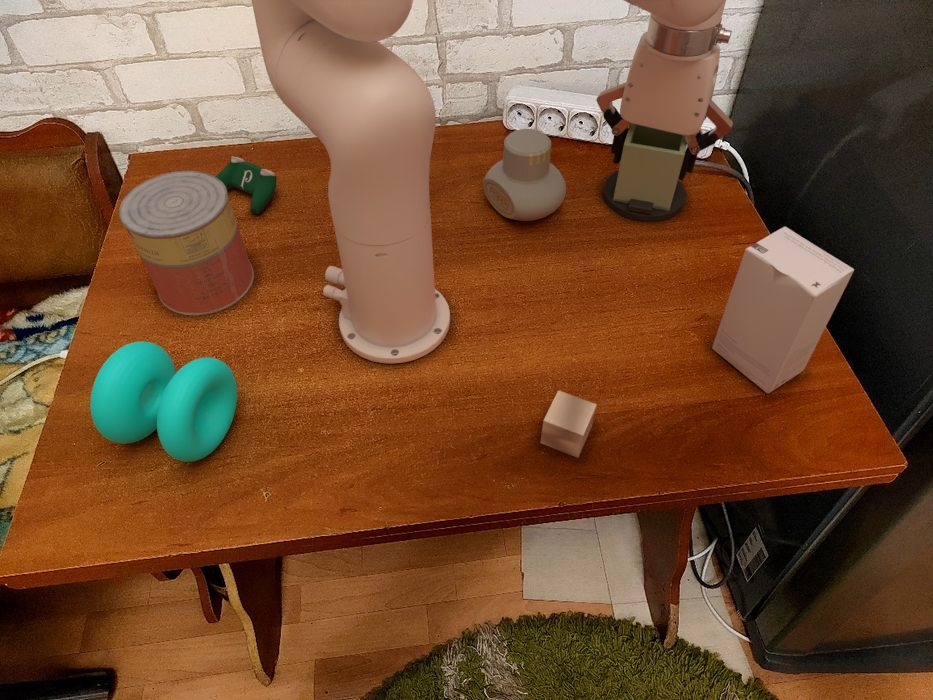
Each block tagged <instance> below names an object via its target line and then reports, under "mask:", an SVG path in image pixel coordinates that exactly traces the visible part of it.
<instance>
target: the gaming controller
mask: <svg viewBox="0 0 933 700" xmlns="http://www.w3.org/2000/svg"><path fill="white" fill-rule="evenodd" d="M230 158H231V159H229V161H228V163H227V164H226V166H224V168H222V170H220V171H219V172H218V173H217V174H216V175H214V176H215V177H216V178H218V179H219V180H221V181H222V182H223V184H224V185H225V187H226V189H227V191H229V190H231V189H232V188H236V189H238V190H241V191H243V192H246V193H247V194H249V195H251V200H250V210H249V211H250V212H251V213H252V214H255V215H259V214H260V213H261V212H262V211H263V210H264V209H265V208H266V207H267V205H268V204H269V203H270V201H271V199H272V198H273V196H274V194H275V192H276V188H277V186H278V185H277V180H278V177H277V175H276V173H274V171H272V170H269V169H267V168H264V167H261V166H260V165H257V164H255V163H252V162H249V161H246V160H245V159H243V158H241V157H239V156H233V155H232V156H231V157H230Z"/></svg>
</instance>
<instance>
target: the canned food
mask: <svg viewBox="0 0 933 700" xmlns="http://www.w3.org/2000/svg"><path fill="white" fill-rule="evenodd" d="M215 176H216V175H212V174H210V173H207V172H203V171H198V170H197V171H196V170H177V171H171V172H167V173H163V174H159V175H157V176H153V177H151V178H149V179H146V180H144V181H143V182H141V183H139V184H138V185H136V186H135V187H134V188H132V190H131V189H130V191H129V192H128V193H127V194H126V195H125V197H124V198H123V199H122V201H121V202H120V205H119V210H118V211H119V212H118V216H119V219H120V222H121V223H122V225H123V226H124V227H125V229H126V231H127V233H128V236H129V237H130V240H131V241H132V243H133V246H134V247H135V250H136V251H137V254H138V256H139V258H140V261H141V263H142V264H143V266H144V268H145V270H146V272H147V274H148V276H149V278H150V280H151V282H152V285H153V286H154V288H155V290H156V292H157V296H158V298H159V300H160V302H161V303H162V305H163V306H164V307H165V308H167V309H168V310H170V311H172V312H173V313H176V314H180V315H184V316H193V317H195V316H206V315H212V314H215V313H218V312H222V311H224V310H226V309H228V308H230V307H232V306H233V305H235V304H237V303H238V302H239V301H240V300H242V299H243V297H245V296H246V294H248V292H249V290H250V289H251V287H252V286H253V283H254V278H255V272H254V269H253V265H252V264H251V261H250V258H249V255H248V252H247V250H246V246H245V242H244V240H243V237H242V234H241V231H240V229H239V226H238V225H239V224H238V223H237V220H236V216H235V213H234V210H233V207H232V205H231V204H232V203H231V201H230V198H229V194H228V193H229V192H228V190H227V189H226V187H225V185H224V184H223V182H222V181H221V180H219V179H218V178H216V177H215Z"/></svg>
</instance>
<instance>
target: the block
mask: <svg viewBox="0 0 933 700" xmlns="http://www.w3.org/2000/svg"><path fill="white" fill-rule="evenodd" d="M597 406H598V404H597V403H595V402H592V401H589V400H587V399H584V398H581V397H578V396H576V395H573V394H571V393H567V392H564V391H561V390H557V392H556V394H555V396H554V398H553V399H552V402H551V404H550V406H549V408H548V410H547V412H546V414H545V416H544V418H543V420H542V426H541V427H542V428H541V433H540V442H539V443H540V444H541V445H544V446H547V447H549V448H551V449H554V450H556V451H559V452H562V453H563V454H567V455H569V456H572V457H573V458H574V457H575V458H577V459H579V457H580V456H581V453H582V451H583V449H584V446H585V443H586V441H587V439H588V437H589V435H590V432H591V430H592V428H593V423H594V419H595V414H596V411H597Z"/></svg>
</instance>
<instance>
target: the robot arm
mask: <svg viewBox="0 0 933 700" xmlns="http://www.w3.org/2000/svg"><path fill="white" fill-rule="evenodd" d="M623 1H624V2H626V3H628V4H630V5H632V6H635V7H637V8H639V9H641V10H643V11H645V12H646V13H647V12H648V13H649V14H650V16H649V21H648V26H647V31H644V32H643V33H642V35H641V37H640V39H639V41H638V43H637V46H636V48H635V51H634V54H633V57H632V60H631V63H630V66H629V70H628V73H627V76H626V77H627V78H626V81H625V82H623V83H621V84H618V85H615V86H613V87H611V88H608V89H606V90H603V91H601V92H599V94H598V96H597V97H596V103H597V105H598V107H599V109H600V111H601V112H602V117H603V119H604V121H605V122H606V124H607V125H608V126H609V127H610V129H611V134H612V135H613V138H612V144H611V149H610V154H613V156H614V157H613V161H612V163H613V164H615V165H618V164H620V162H621V157H622V152H623V147H624V143H625V139H626V136H627V133H628V130H629V126H630V125H631V124H632V123H633V124H637V125H641V126H645V127H649V128H653V129H658V130H662V131H666V132H671V133H675V134H680V135H684V138H685V140H686V143H687V146H686V151H685V156H684V159H683V163H682V166H681V170H680V174H679V177H678V180H679V181H683V182H684V179H685V178H686V175H687V173H690V174H691V173H693V170H694V168H695V165H696V161H697V157H698V155H699V153H700V152H701V151H703V150H705V149H707V148H709V147H711V146H713V145H715V144H716V143H717V141H719V140H720V139H723V137H725V136H726V135H728V134H729V133H730V132H731V131H732V129H733V126H734V122H733V120H732V119H731V118H730V117H729V116H728V115H727V114H726V113H725V112H724V111H723V110H722V109H721V108H720V106H718V105H717V104H716V102H715V101H713V95H714V92H715V88H716V83H717V77H718V73H719V72H718V71H719V68H720V67H719V66H720V65H719V64H720V58H721V46H720V45H721V44H729V42H730V39H731V36H732V32H733V31H732V30H730V29H726V27H723V25H724V24H723V23H722V20H723V18H722V17H723V15H724V10H725V6H726V2H727V0H623ZM251 4H252V9H253V14H254V20H255V25H256V30H257V35H258V39H259V45H260V49H261V53H262V59H263V62H264V67H265V71H266V74H267V76H268V80H269V82H270V84H271V86H272V89H273V91H274V92H275V93H276V95H277V97H278V98H279V99H280V100H281V102H282V103H283V104H284V106H286V108H287V109H289V110H290V111H291V112H292V114H294V116H295V117H296V118H298V119H299V121H300V122H301V123H303V124H304V125H305V126H306V127H307V128H308V130H310V132H311V133H312V134H313V135H314V136H315V137H316V138H318V140H319V141H320V142H321V144H322V145H323V146H324V148H325V151H326V152H327V155H328V157H329V161H330V173H329V178H328V184H327V195H328V205H329V209H330V210H329V211H330V216H331V220H332V224H333V228H334V229H333V230H334V233H335V235H334V236H335V240H336V244H337V250H338V255H339V259H340V264H341V268H340V267H337V266H334V265H329V266H328V267H327V269H326V270H325V273H324V280H325V281H326V282H328V283H331V284H333V285H337V286H340V287H341V286H342V287H344V289H343V290H342V289H339V288H338V287H336V286H333V285H331V284H326V285H325V286H324V287H323V289H322V296H324V297H326V298H328V299H331V300H336V301H338V302H339V304H340V305H341V309H340V312H339V315H338V327H339V332H340V336H341V338H342V340H343V342H344V343H345V345H346V346H347V347H348V349H350V350H351V352H353V353H354V354H356V355H357V356H359V357H360V358H363V359H366V360H368V361H370V362H373V363H374V362H375V363H380V364H403V363H407V362H412V361H415V360H418V359H420V358H422V357H425V356H427V355H429V353H432V352H433V351H434V350H435V349H436V348H437V347H439V346H440V345H441V344H442V342H443V341H444V339H445V338H446V336H447V334H448V332H449V330H450V325H451V311H450V306H449V304H448V301H447V300H446V298H445V297H444V295H443V294H442V293H441V292H440V291H439V290H437V289H436V283H435V282H436V281H435V267H434V265H435V264H434V251H433V231H432V213H431V200H430V199H431V198H430V165H431V156H432V149H433V146H434V145H433V144H434V138H435V134H436V133H435V132H436V126H437V125H436V123H437V117H436V116H437V115H436V107H435V103H434V99H433V96H432V94H431V92H430V90H429V88H428V86H427V85H426V83H425V82H424V80H423V78H422V77H421V76H420V75H419V74H418V72H417V71H416V70H415V69H414V68H413V67H412V66H411V65H410V64H408V62H406V61H405V60H404V59H403V58H402V57H400V56H399V55H398V54H396V53H395V52H394V51H392V50H390V49H389V48H388V47H386V46H385V45H383V44H382V43H381V42H379V41H382V40H383V41H384V40H386V39H389V38H390V37H392V36H393V35H395V34H396V33H397V32H398V31H399V30H400V29H401V28H402V26H403V25H404V24H405V22H406V21H407V19H408V17H409V15H410V13H411V11H412V7H413V4H414V0H251ZM619 99H621V102H620V108H619V111H618V109H617V107H615V106H614V104H613V102H614V101H617V100H619ZM707 119H708V120H709V121H710V122H711V123H712V124H713V125H714V126H715V127H714V128H712V129H710V130H708V131H706V132H704V133H703V130H702V126H703V125H704V121H706V120H707Z"/></svg>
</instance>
